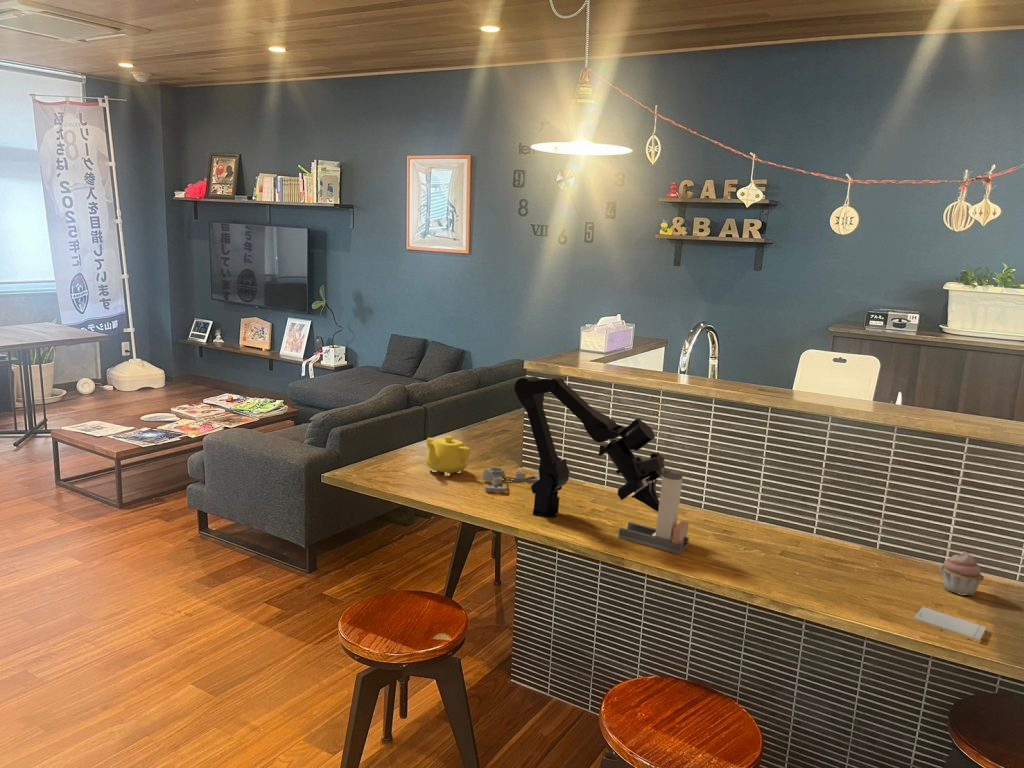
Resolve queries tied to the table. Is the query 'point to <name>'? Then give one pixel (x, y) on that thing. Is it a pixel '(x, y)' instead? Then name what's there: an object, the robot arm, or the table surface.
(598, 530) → the table surface
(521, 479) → the pulley system
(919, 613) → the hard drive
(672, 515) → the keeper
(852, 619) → the table surface
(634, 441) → the robot arm
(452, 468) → the teapot
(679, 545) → the rail
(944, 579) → the cupcake
